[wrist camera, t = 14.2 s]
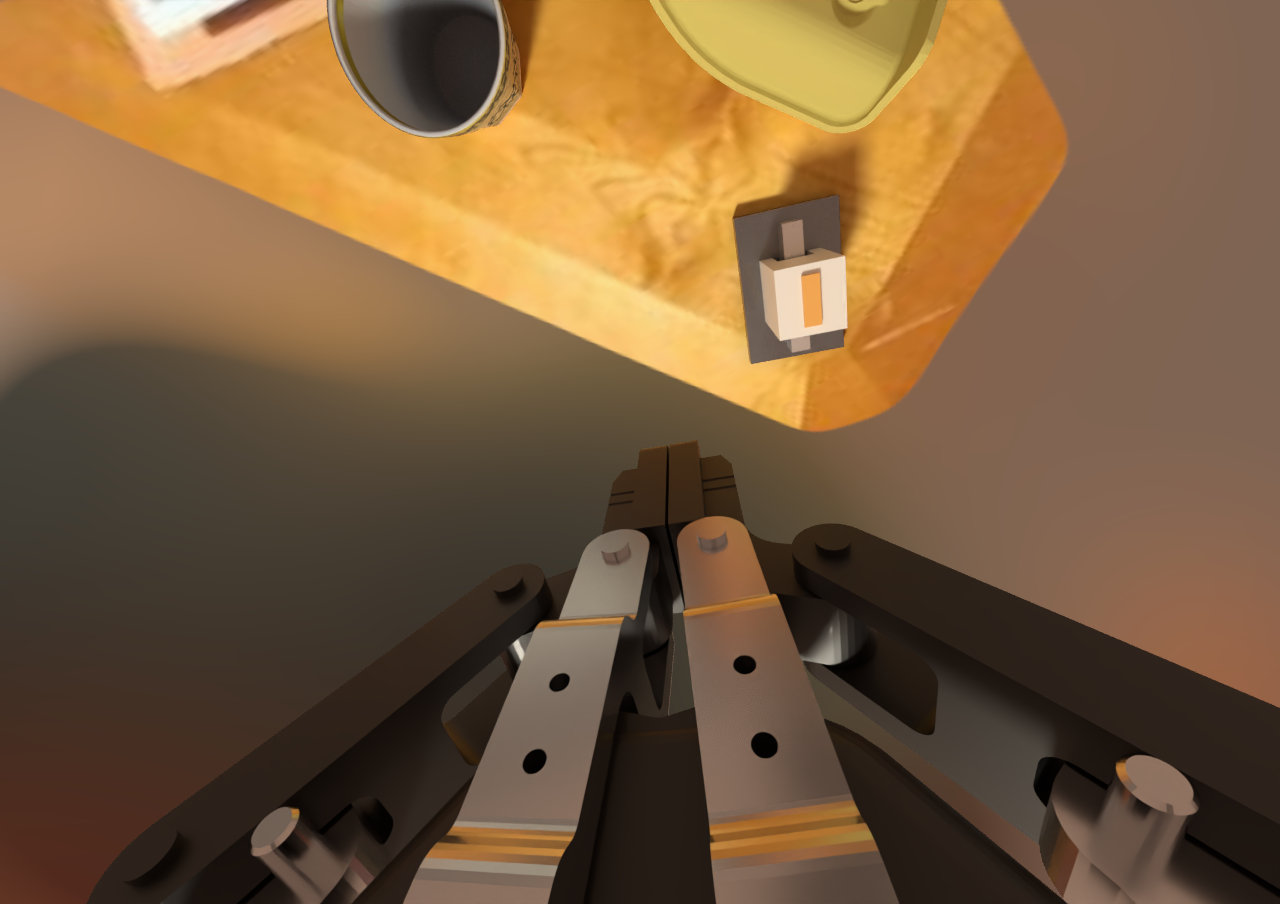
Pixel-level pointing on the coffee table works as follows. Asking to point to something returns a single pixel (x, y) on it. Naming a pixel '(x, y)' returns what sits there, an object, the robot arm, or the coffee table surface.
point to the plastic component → (809, 51)
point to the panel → (781, 240)
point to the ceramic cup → (429, 62)
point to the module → (805, 294)
